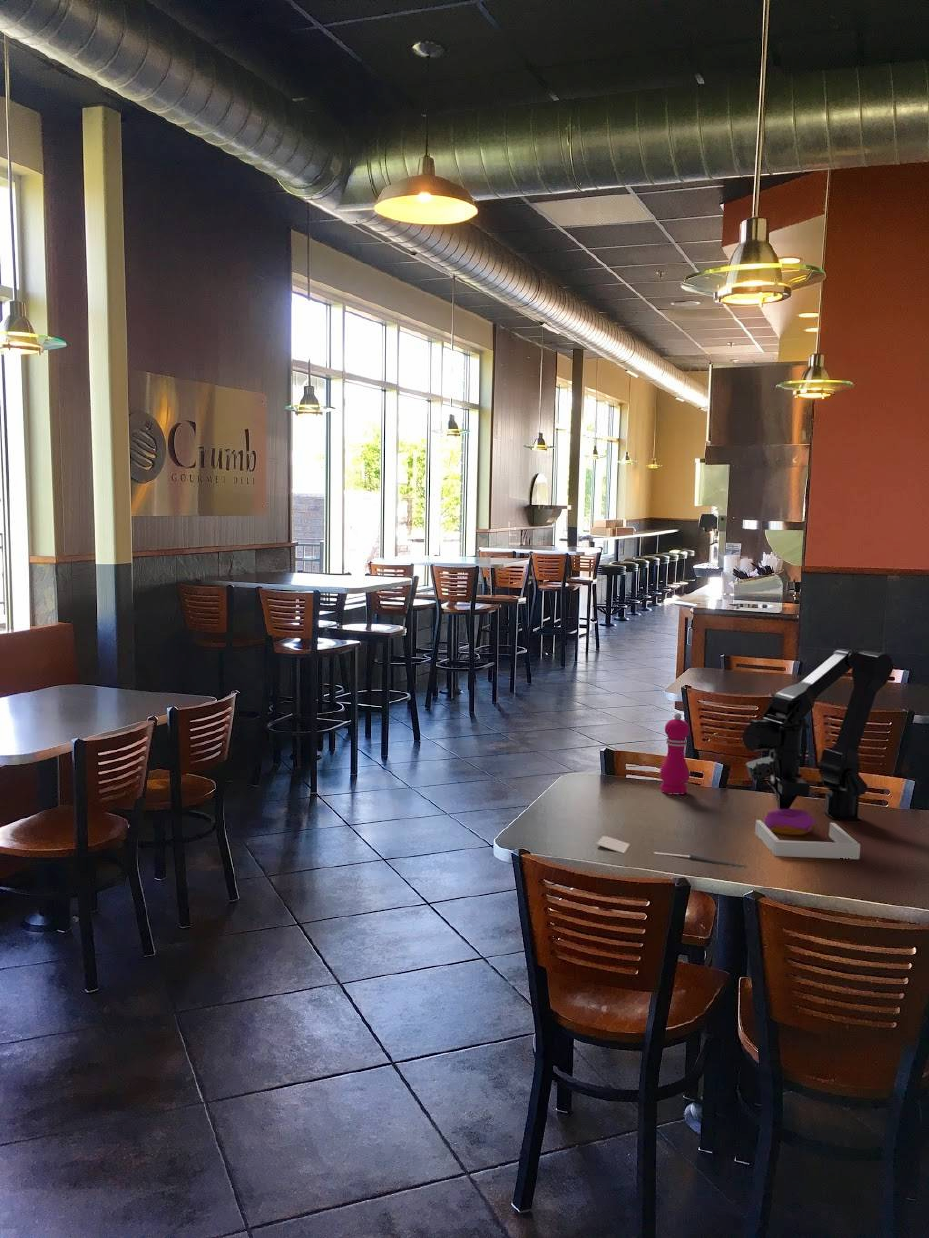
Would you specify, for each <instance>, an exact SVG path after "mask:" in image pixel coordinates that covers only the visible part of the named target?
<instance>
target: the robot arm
mask: <svg viewBox="0 0 929 1238" xmlns="http://www.w3.org/2000/svg"><path fill="white" fill-rule="evenodd" d="M850 670H851V677H852V683H853V688H852V691H851V694H850V697H849V700H848V704H847V708H846V710H845V713H844V715H843V719H842V722H841V726H840V729H839V732H838V735H837V738H836V741H835V744H834V745H833V746H832V747H831V748H829V749H828V748H823V750H822V752H821V753H822V754H821V757H820V760H819V762H818V763H817V765H818V766H819V767H818V774H819V775H820V778H821V782H822V786H823V787H824V788H825V787H826V788H827V794H825V795H824V809H823V812H824V814H826V815H827V816H829V817H830V818H831V819H833V820H845V821H846V820H848V821H861V820H862V818H861V817H860V816H859V807H860V805H859V804H860V796H862V795H865V794H866V792H867V790H868V789H867V788H868V784H867V783H866V782H865V781H864V779H863V778H862V777H861V776H860V768H861V761H860V757H859V753H858V750H859V748H860V745H861V742H862V738H863V735H864V733H865V728H866V726H867V723H868V719H869V716H870V714H871V711H872V707H873V705H874V702H875V697H876V695H877V692H878V691H879V690H881V689H882V688H883V687H884V686H885V685H886V684H887V683H888V681H889V679H890V677H891V674H892V672H893V671H894V662H893V660H892V658H891V656H890V655H888V654H887V653H880V652H874V651H870V650H860V652H857V651H855V650H850V649H845V648H839V649H835V650H834V651H833V654H832V655H831V656H830V657H829V658H828V659H826V660H825V661H824V662H822V664H820V665H819V666H818V667H816V669H814V670H813V671H812V672H811V673H810V674H809V675H807V676H806V677H805V678H804V679H803V680H801V681H799V682H798V683H795V684H792V685H788V686H786V687H784V688H783V689H781V690H779V691H778V692H776V693H775V694H774V695H773V696H772V698H771V700H772V701H771V702H770V703H769V705H768V706H767V708H765V711H764V712H763V714H762V716H760V719H750V721H749V725H748V726H746V727H745V728H744V731H743V733H742V741H743V744H744V746H745V748H746V749H747V750H748V751H750V752H757V751H759V752H760V751H769V752H768V756H765V757H760V758H757V759H754V760H751V761H748V762H746V763H745V767H746V771H747V773H748V776H749V777H748V778H751V780H752V781H755V782H756V781H761V779H764V778H767V777H770V780H767V781H766V783H767V784H768V785H769V787H771V788H772V789H773V790H774V791H773V792H774V794H775V795H774V796H775V801H776V805H777V809H791V806H792V805H793V803H794V802H795V800H796V799H797V797H811V793H812V787H811V786H810V784H809V783H807V782H806V781H805V780H804V779H803V778H802V772H800V761H803V759H804V758H803V757H804V755H803V754H801V745H802V744H801V743H802V730H806V729H808V730H809V729H810V728H811V725H810V724H808V723H807V722H806V721H805V718H806V716H807V715H808V714H809V713H810V712H811V711H812V709H813V708H814V706H815V702H816V699H818V697H820V695H822V694H823V693H824V692H825V691H826V690H829V688H830V687H832V685H834V684H835V683H836V682H837V681H838V680H840V679H841V678H842V677H843V676H844V675H845V674H847V672H849V671H850Z"/></svg>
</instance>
